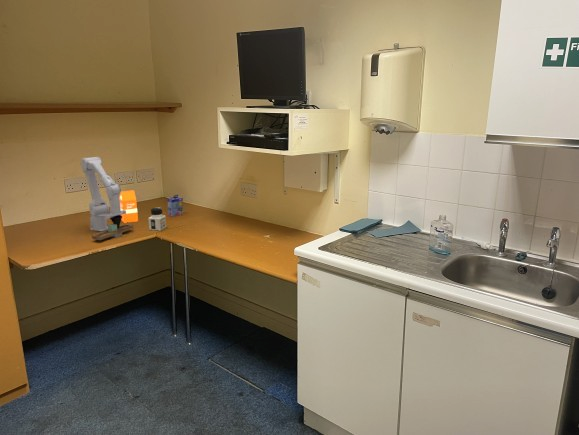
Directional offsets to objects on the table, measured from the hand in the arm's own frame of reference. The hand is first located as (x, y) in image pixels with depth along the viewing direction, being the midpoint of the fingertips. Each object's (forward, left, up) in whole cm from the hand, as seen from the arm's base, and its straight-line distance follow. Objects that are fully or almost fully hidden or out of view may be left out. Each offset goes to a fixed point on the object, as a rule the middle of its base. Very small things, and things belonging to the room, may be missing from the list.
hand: (117, 228), depth 263 cm
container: (+13, +20, -4) cm, 24 cm away
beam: (0, -3, -4) cm, 5 cm away
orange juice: (-16, +27, -4) cm, 32 cm away
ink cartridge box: (+2, +52, -4) cm, 52 cm away
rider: (0, -4, -1) cm, 4 cm away
